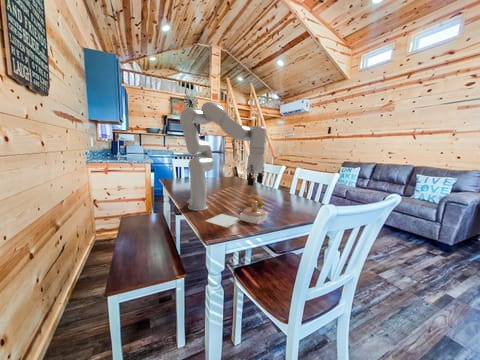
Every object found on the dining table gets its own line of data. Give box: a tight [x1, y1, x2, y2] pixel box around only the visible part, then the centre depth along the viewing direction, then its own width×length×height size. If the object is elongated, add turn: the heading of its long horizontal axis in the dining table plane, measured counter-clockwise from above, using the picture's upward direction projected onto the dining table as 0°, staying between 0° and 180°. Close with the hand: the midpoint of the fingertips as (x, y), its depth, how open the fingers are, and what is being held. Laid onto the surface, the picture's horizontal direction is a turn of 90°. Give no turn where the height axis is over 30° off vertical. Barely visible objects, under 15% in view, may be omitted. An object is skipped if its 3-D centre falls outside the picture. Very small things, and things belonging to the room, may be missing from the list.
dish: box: [239, 211, 269, 225], centre depth 113 cm, size 11×11×4 cm
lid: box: [242, 201, 267, 217], centre depth 112 cm, size 12×12×6 cm
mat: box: [205, 213, 241, 228], centre depth 110 cm, size 14×14×1 cm
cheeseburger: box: [245, 195, 264, 210], centre depth 128 cm, size 10×11×10 cm
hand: (255, 184), depth 110 cm, fingers open, 9 cm apart
